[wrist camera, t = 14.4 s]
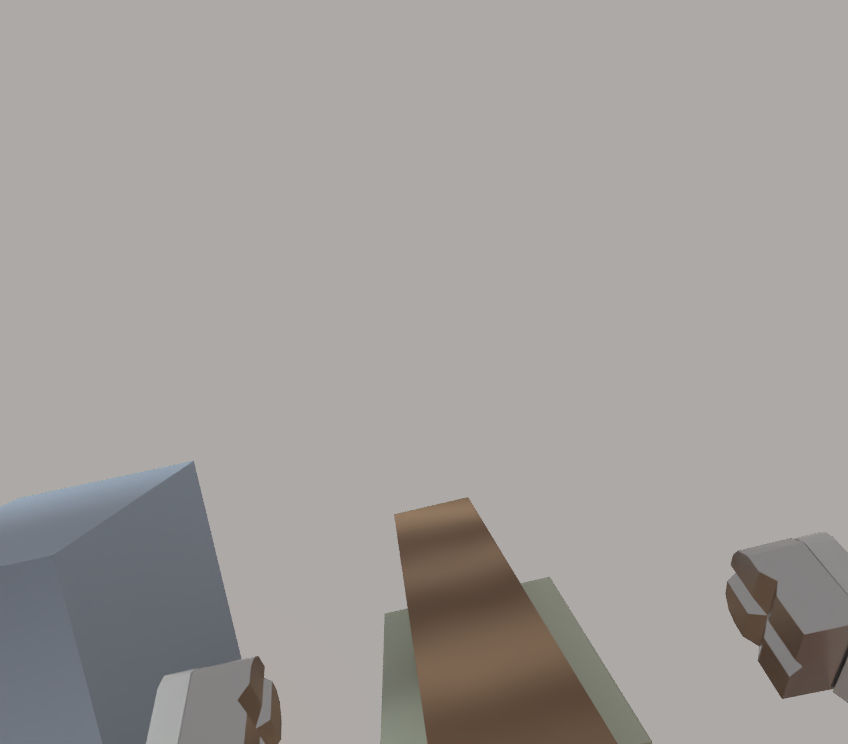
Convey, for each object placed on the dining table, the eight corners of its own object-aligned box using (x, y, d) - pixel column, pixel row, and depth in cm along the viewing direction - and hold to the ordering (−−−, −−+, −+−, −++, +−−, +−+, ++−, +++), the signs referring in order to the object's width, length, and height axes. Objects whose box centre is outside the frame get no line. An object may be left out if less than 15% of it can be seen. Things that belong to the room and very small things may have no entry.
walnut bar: (749, 1101, 10) (712, 900, 10) (505, 1178, 10) (460, 973, 9) (481, 560, 34) (468, 497, 34) (407, 577, 34) (394, 514, 33)
